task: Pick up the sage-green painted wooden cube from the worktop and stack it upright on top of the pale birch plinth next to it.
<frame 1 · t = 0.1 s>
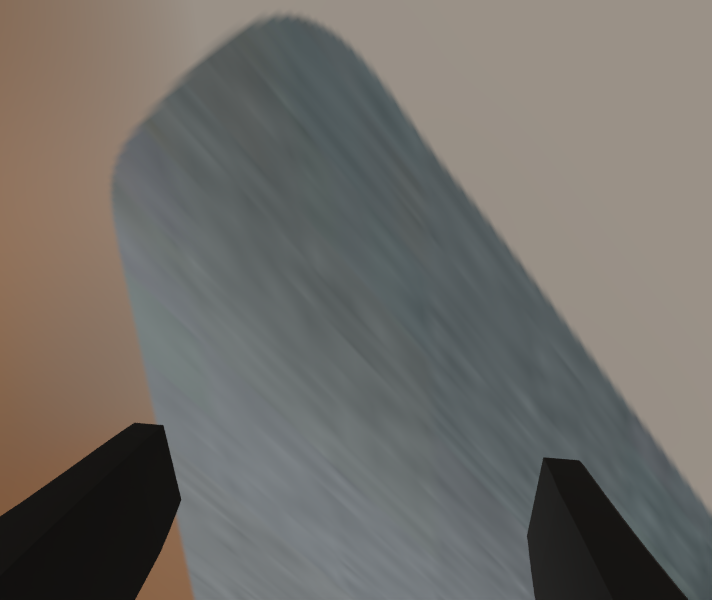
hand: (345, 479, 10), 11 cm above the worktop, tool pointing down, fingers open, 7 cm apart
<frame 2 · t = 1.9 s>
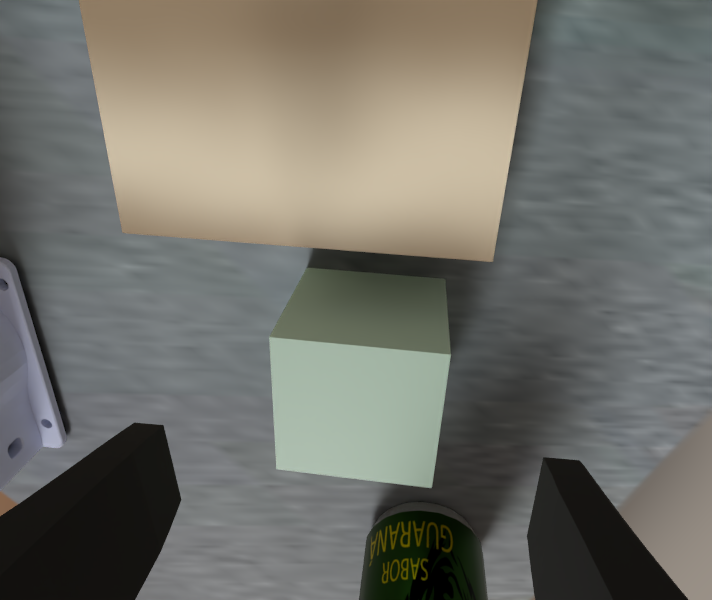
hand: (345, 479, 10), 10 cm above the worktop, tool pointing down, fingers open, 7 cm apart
green soda can: (423, 533, 24), on the worktop
birch plinth: (320, 35, 15), on the worktop
sage cube: (372, 331, 19), on the worktop
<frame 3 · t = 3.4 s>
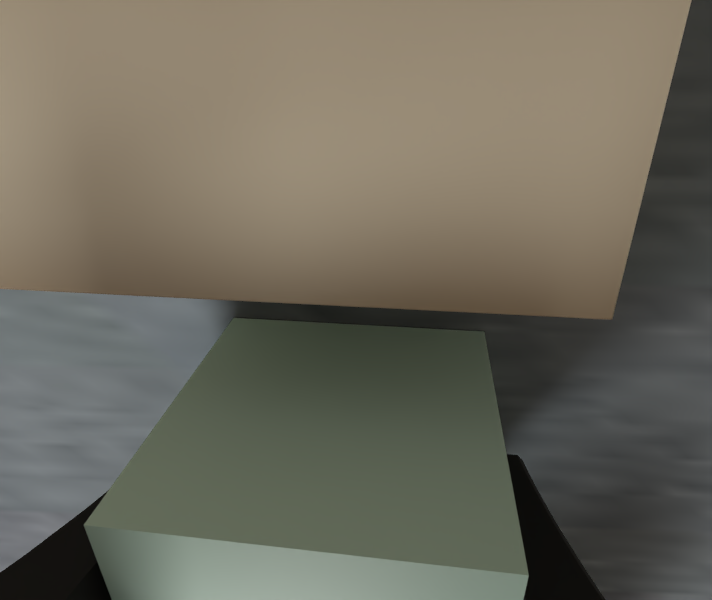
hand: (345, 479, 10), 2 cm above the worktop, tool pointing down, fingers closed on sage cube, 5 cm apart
sage cube: (356, 423, 11), on the worktop, touching gripper
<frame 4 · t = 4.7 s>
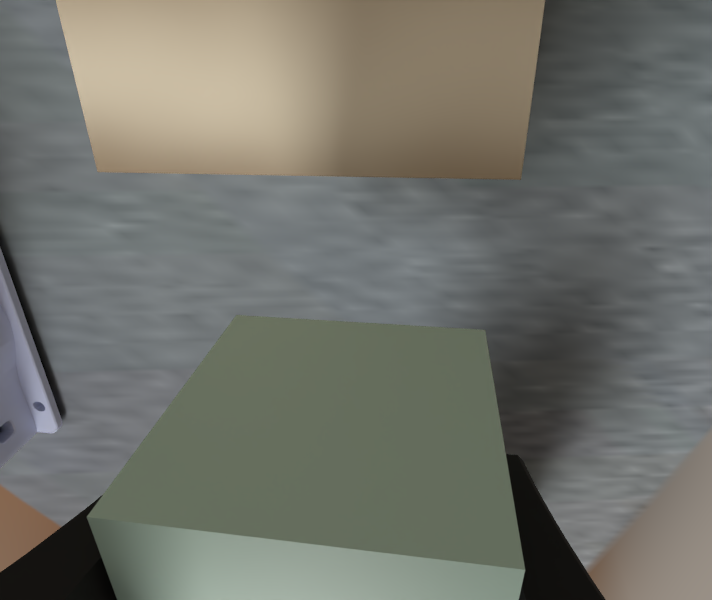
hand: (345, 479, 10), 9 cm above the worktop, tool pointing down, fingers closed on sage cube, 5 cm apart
sage cube: (358, 420, 11), point 7 cm above the worktop, touching gripper
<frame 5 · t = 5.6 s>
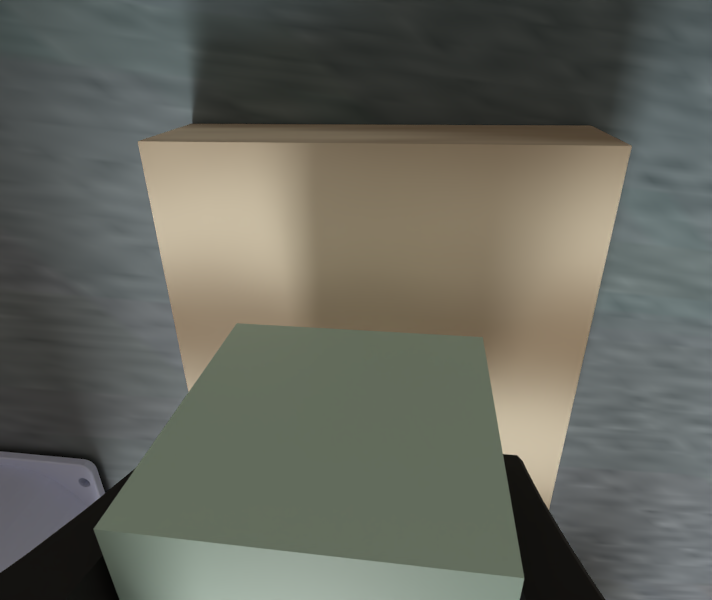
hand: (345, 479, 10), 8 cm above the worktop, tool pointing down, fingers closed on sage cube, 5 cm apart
birch plinth: (379, 302, 16), on the worktop
sage cube: (357, 426, 11), point 6 cm above the worktop, touching gripper
when the fingers open (6 cm above the worktop, at t = 6.3 s): sage cube drops 1 cm, resting on birch plinth.
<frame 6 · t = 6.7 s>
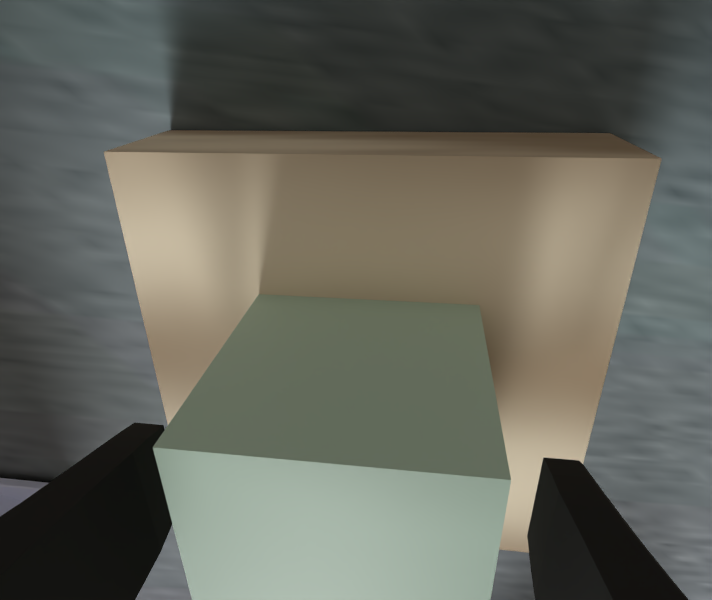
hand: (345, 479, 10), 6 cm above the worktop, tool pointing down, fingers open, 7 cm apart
birch plinth: (376, 323, 15), on the worktop
sage cube: (366, 389, 12), point 3 cm above the worktop, touching birch plinth
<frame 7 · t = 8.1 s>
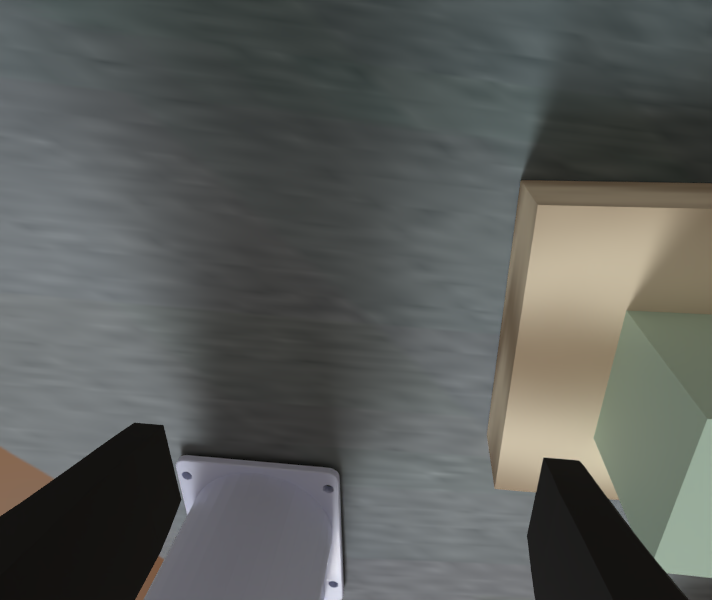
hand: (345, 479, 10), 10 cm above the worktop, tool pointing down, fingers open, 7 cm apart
birch plinth: (654, 331, 19), on the worktop
sage cube: (691, 383, 16), point 3 cm above the worktop, touching birch plinth
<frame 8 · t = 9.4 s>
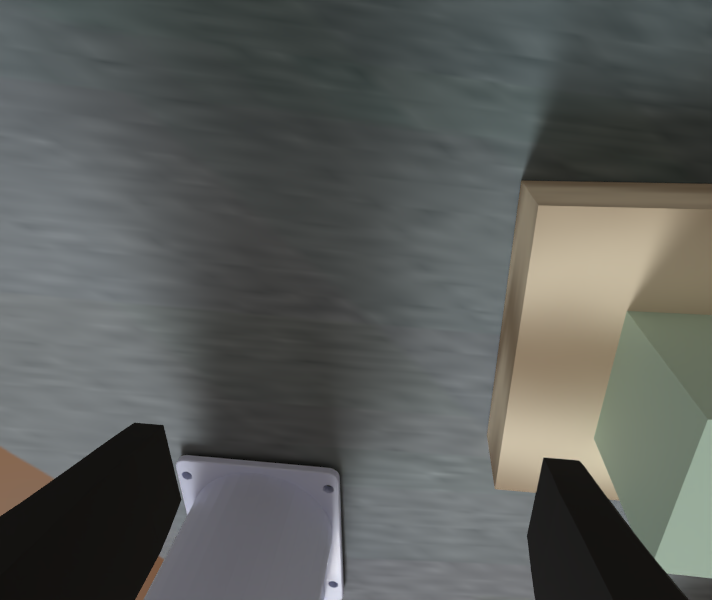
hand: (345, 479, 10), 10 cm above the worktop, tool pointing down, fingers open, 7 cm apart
birch plinth: (654, 331, 19), on the worktop
sage cube: (691, 384, 16), point 3 cm above the worktop, touching birch plinth
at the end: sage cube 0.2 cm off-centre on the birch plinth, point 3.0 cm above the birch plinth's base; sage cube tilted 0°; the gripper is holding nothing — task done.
